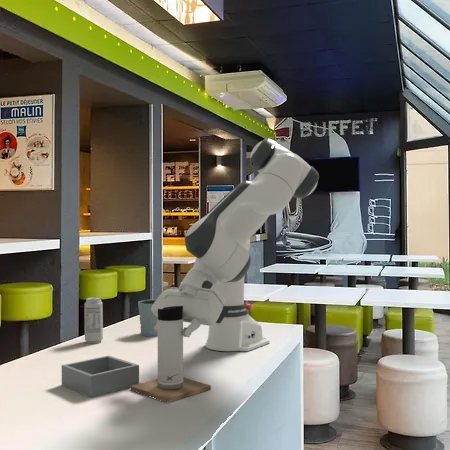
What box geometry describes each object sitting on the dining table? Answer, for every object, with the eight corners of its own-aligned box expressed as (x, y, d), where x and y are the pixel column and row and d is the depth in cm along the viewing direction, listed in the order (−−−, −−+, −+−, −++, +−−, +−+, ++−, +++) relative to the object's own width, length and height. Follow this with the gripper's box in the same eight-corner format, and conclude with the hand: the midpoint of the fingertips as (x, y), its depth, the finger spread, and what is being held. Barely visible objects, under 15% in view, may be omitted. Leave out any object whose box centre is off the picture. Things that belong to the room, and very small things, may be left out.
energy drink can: (105, 340, 192) (104, 297, 192) (99, 344, 186) (99, 299, 186) (88, 339, 193) (88, 297, 193) (82, 343, 187) (81, 299, 187)
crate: (108, 373, 151) (108, 355, 150) (139, 384, 141) (139, 365, 141) (61, 384, 141) (61, 365, 141) (90, 397, 131) (90, 376, 131)
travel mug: (174, 391, 131) (173, 308, 131) (152, 387, 135) (152, 305, 135) (189, 385, 137) (189, 304, 136) (168, 380, 140) (167, 302, 140)
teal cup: (171, 333, 204) (171, 300, 204) (154, 338, 195) (153, 304, 195) (150, 330, 209) (150, 298, 209) (132, 334, 201) (132, 302, 200)
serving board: (174, 378, 146) (174, 374, 146) (210, 389, 136) (210, 385, 136) (130, 389, 136) (130, 385, 136) (166, 403, 126) (166, 398, 126)
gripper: (162, 279, 149) (135, 320, 142) (221, 284, 136) (195, 330, 129) (174, 294, 153) (148, 335, 145) (232, 300, 140) (207, 346, 132)
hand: (170, 333), depth 137 cm, fingers open, 8 cm apart
